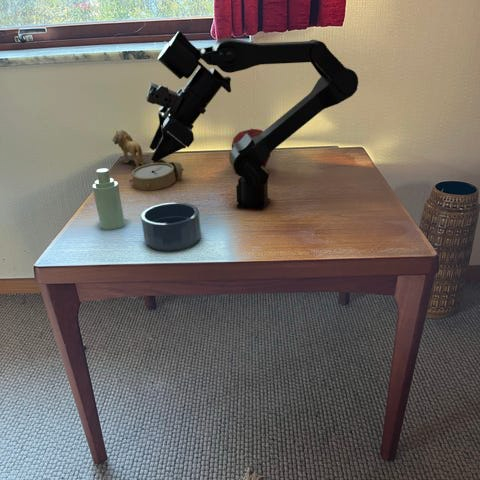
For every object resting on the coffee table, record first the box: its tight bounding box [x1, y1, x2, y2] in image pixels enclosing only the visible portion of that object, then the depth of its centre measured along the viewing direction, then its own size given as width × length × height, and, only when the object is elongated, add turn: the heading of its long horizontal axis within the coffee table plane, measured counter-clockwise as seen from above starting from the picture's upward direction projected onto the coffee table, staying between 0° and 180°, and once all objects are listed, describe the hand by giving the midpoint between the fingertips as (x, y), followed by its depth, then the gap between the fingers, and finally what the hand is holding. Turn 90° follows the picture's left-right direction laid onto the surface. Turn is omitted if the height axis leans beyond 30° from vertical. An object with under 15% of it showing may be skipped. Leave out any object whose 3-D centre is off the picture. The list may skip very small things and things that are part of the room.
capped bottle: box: [92, 168, 126, 230], centre depth 112 cm, size 5×5×12 cm
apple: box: [231, 127, 271, 168], centre depth 139 cm, size 11×11×12 cm
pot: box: [140, 202, 202, 252], centre depth 105 cm, size 12×12×6 cm
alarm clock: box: [128, 158, 185, 191], centre depth 137 cm, size 11×5×15 cm
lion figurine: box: [111, 129, 147, 169], centre depth 150 cm, size 15×5×9 cm, turn 43°
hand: (152, 154), depth 111 cm, fingers open, 9 cm apart
